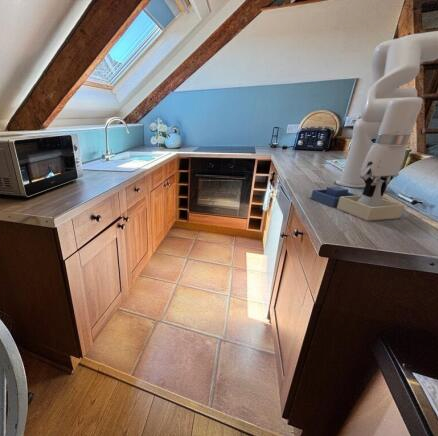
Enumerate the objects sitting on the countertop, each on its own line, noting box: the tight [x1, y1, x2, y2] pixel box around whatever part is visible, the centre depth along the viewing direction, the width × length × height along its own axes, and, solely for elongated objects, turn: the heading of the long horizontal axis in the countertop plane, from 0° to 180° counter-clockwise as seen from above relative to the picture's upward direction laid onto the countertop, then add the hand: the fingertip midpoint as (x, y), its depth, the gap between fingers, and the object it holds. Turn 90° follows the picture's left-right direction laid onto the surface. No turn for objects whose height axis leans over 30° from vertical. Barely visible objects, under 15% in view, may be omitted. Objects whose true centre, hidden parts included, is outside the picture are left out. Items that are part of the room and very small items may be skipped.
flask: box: [357, 178, 384, 207], centre depth 84 cm, size 7×7×10 cm
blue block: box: [325, 186, 349, 198], centre depth 97 cm, size 5×5×5 cm
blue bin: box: [310, 188, 359, 208], centre depth 98 cm, size 11×11×4 cm
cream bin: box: [336, 194, 405, 221], centre depth 86 cm, size 12×12×5 cm
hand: (372, 195), depth 84 cm, fingers closed on flask, 3 cm apart
